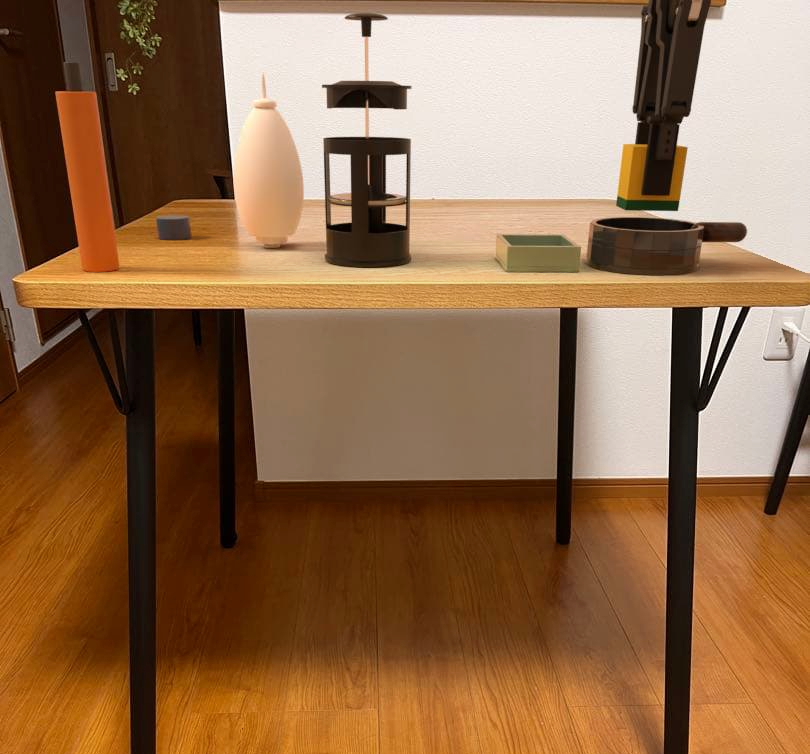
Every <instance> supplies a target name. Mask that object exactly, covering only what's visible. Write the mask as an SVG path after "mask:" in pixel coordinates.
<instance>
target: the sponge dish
mask: <svg viewBox="0 0 810 754" xmlns="http://www.w3.org/2000/svg"><path fill="white" fill-rule="evenodd" d="M581 253H582V246H581V245H580V244H578V243H576V242H575V241H574V240H572V239H571V238H570V237H568V236H567V235H566V234H533V233H532V234H531V233H529V234H521V233H519V234H518V233H517V234H516V233H515V234H511V233H505V234H504V233H503V234H502V233H500V234H499V233H497V234H496V237H495V257H494V258H495V259H496V260H497V261H498V263H499V264H500V266H501V267H502V268H503V270H504V271H505V272H507V273H579V272H580V263H581Z"/></svg>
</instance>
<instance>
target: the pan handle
mask: <svg viewBox="0 0 810 754" xmlns="http://www.w3.org/2000/svg"><path fill="white" fill-rule="evenodd" d="M695 223H696V224H694V225H693V226H692V228H691V229H696V228H697V226H696V225H704V233H703V240H702V243H740V242H742V241H743V240H744V239H746V237H747V234H748V228H747V226H746V225H745V223H743V222H740V221H738V222H737V221H726V222H725V221H698V222H695Z"/></svg>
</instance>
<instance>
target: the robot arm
mask: <svg viewBox="0 0 810 754" xmlns="http://www.w3.org/2000/svg"><path fill="white" fill-rule="evenodd" d="M711 5H712V0H648V4H647V5H643V7H642V9H641V12H640V16H641V19H640V20H641V21H640V22H641V24H640V26H641V27H640V41H639V48H638V59H637V68H636V76H635V77H636V78H635V86H634V94H633V95H634V96H633V104H632V109H631V110H632V113H633V115H636V117H635V118H636V121H637V125H636V132H635V133H636V134H635V141H634V144H646V145H647V153H646V161H645V169H644V176H643V184H642V191H641V195H653V196H669V195H670V188H671V181H672V175H673V168H674V161H675V154H676V147H677V145H678V140H679V133H680V125H681V124H682V123H683V120H684V118H688V117H690V115H691V111H692V105H693V98H694V92H695V85H696V81H697V73H698V67H699V61H700V56H701V48H702V44H703V37H704V31H705V25H706V22H707V19H708V14H709V10H710V8H711V7H710V6H711Z"/></svg>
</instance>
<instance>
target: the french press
mask: <svg viewBox="0 0 810 754" xmlns="http://www.w3.org/2000/svg"><path fill="white" fill-rule="evenodd" d="M344 20H348V21H349V20H350V21H360V23H361V24H360V25H361V26H360V27H361V38H364V80H340V81H337V82H334V83H332V84H321V89H325V90H326V109H329V110H331V109H364V111H365V112H364V113H365V114H364V120H365V125H364V127H365V129H364V130H365V134H364V135H365V136H331V137H324V138H323V139H322V140H323V174H324V176H323V177H324V207H325V209H324V210H325V241H326V242H325V244H326V247H325V248H326V253H325V254H324V260H325V262H327V263H329V264H332V265H336V266H343V267H349V268H350V267H351V268H354V267H355V268H384V267H385V268H387V267H396V265H397V266H401V265H405V264H408V263H410V262H411V261H412V254H411V253H410V244H411V243H410V241H411V239H410V238H411V237H410V235H411V226H410V225H411V169H412V168H411V167H412V165H411V164H412V163H411V161H412V159H411V158H412V157H411V156H412V154H411V153H412V152H411V151H412V140H411V138H406V137H393V136H392V137H391V136H370V109H389V110H390V109H391V110H408V90H412V85H402V84H399V83H397V82H394V81H391V80H369V78H370V76H369V75H370V73H369V38H371V37H372V22H373V21H374V22H378V21H379V22H380V21H387V20H389V17H388V16H386V15H384V14H380V13H373V12H357V13H350V14H348V15H345V16H344ZM331 154H332V155H342V156H343V155H344V156H350V192H343V193H334V194H331V168H330V155H331ZM403 155H406V169H405V170H406V171H405V172H406V175H405V177H406V178H405V185H406V186H405V195H402V194H398V193H389V192H387V156H403ZM332 205H335V206H341V207H350V209H351V210H350V213H351V222H341V223H340V222H339V223H334V224H332V207H331V206H332ZM404 205H405V224H401V223H392V222H387V207H399V206H404Z"/></svg>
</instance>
